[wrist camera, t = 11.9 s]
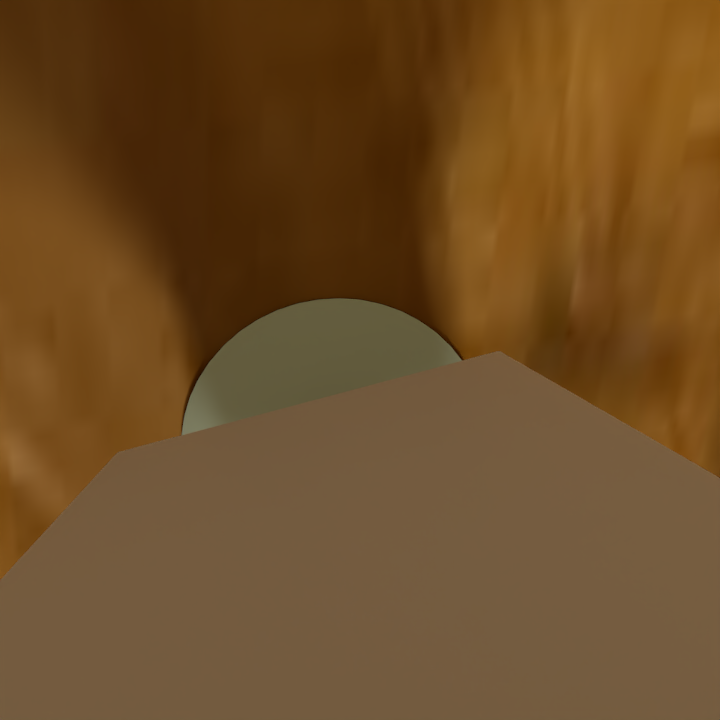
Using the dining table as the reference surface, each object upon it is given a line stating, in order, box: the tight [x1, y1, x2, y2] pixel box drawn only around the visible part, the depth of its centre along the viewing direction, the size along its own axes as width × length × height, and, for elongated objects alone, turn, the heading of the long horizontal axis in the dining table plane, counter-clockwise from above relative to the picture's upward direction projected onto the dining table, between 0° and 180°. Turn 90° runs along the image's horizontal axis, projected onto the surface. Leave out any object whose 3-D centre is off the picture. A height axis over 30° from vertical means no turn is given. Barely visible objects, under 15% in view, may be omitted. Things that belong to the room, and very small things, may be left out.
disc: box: [182, 298, 462, 435], centre depth 14 cm, size 10×10×1 cm
